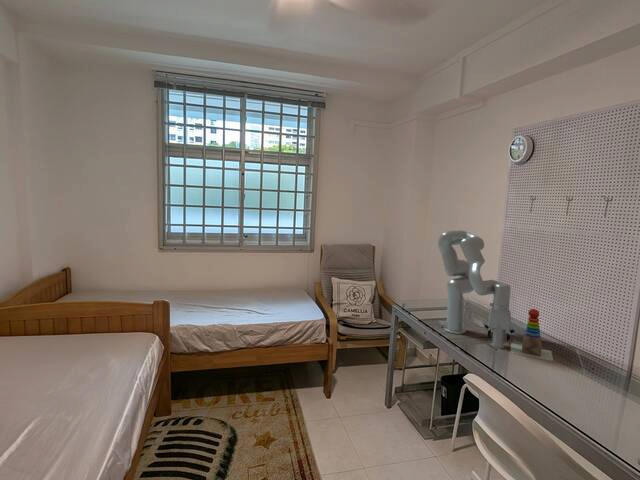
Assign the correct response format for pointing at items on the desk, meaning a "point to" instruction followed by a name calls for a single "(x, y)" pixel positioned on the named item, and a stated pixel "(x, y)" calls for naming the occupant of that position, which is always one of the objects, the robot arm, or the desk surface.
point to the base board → (544, 355)
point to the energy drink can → (498, 337)
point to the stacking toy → (533, 325)
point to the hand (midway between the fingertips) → (498, 338)
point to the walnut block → (531, 346)
